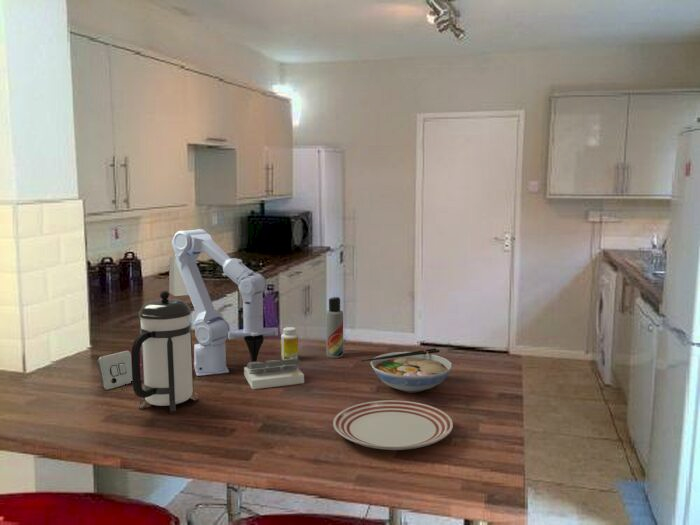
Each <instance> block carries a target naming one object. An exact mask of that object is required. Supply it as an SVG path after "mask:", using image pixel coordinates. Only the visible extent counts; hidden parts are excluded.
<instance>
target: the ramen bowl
mask: <svg viewBox="0 0 700 525" xmlns="http://www.w3.org/2000/svg"><path fill="white" fill-rule="evenodd" d="M437 353H440V349H437V348H435V347H434V348H429V349H423V350H418V351H417V350H415V351H397V352H389V353H384V354H380V355H377V356H375V357H373V358H368V359H361V360H360V362H369V361H370V366H371V367H372V369H373V371H374V373H375V374H376V376H377V377H378V379H379V380H380V381H381V382H382V383H384V384H385V385H387V386H389V387H391V388H393V389H396V390H399V391H400V392H403V393H404V392H405V393H410V394H413V393H420V392H423V391H425V390H426V391H427V390H430V389H432V388H434V387H436V386H438V385H439V384H441V383H442V382H443V381H444V380H445V379H446V378H447V377H448V375H449V374H450V372H451V370H452V367H453V366H452V365H453V364H452V362H451V361H450V360H449V359H448V358H446V357H442V356H440V355H437Z"/></svg>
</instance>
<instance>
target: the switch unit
mask: <svg viewBox="0 0 700 525" xmlns="http://www.w3.org/2000/svg"><path fill="white" fill-rule="evenodd" d="M297 365H298V364H295V365H283V366H277V367H266V368H259V369H248V367H247V366H244V367H243V371H244V372H243V375H244V377H245V379H246V380H247V382H248V385H249V386H250V388H251V389H252V390H258V389H265V388H267V389H268V388H275V387H284V386H291V385H292V386H293V385H299V384H305V373H303V372H302V371H301V370H300V368H299V367H298V366H297Z"/></svg>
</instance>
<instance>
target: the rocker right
mask: <svg viewBox="0 0 700 525" xmlns="http://www.w3.org/2000/svg"><path fill="white" fill-rule="evenodd" d="M279 361H282V363H283V365H300V358H297V359H293V358H290V359H282V358H281V360H279Z"/></svg>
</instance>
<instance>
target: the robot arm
mask: <svg viewBox="0 0 700 525" xmlns="http://www.w3.org/2000/svg"><path fill="white" fill-rule="evenodd" d="M171 246H172V248H173V252H175V256H176V264H177V266H178V269H179V271H180V274H181V276H182V279H183V281H184V284H185V286H186V289H187V291H188V294H189V295H188V296H189V299H190V301H191V303H192V305H193V309H194V312H195V314H196V318H195V319H194V322H193V328H194V330H195V331H194V332H195V338H196V340H197V341H198V343H195V344H194V345H193V346H194V347H193V352H194V353H193V357H194V359H193V360H194V361H193V368H194V370H195V371H194V372H195V374H196V376H197V377H199V376H211V375H219V374H228V373H230V371H229V368H228V367H227V360H226V359H227V358H226V341H227V338H228V340H234V339H243V340H244V342H245V344H246V347H247V349H248V352H249V356H250V361H251V363H252V362H258V355H259V353H260V352H259V351H260V350H261V347H262V345H263V343H264V341H265V338H264V337H267V336H279V328H278V327H264V297H263V296H264V291H265V290H266V289H267V281H266V278H265V277H264V276H263V274H261V273H257V272H256V273H255V271H253V270H252V269H250V268H249V267H247V266H246V265H245V264H244V263H243V260H242V259H241V258H236V257H234V258H231V257H230V256H229V255H228V254H227V253H226V252H225V251H224V250H223V249H222V248H221V247H220V246H219V245H218V244H217V243H216V242H215V241H214V240H213V239H212V235H211V234H209V233H207V231H206V230H205V229H202V228H197V229H191V230H179V231H176V232H175V234H174V236H173V238H172V240H171ZM202 253H204V254H205V255H207V256H208V257H209V258H211V259H212V260H213V261H214V262H216V263H217V264H218V265H219V266H221V267H222V270H223V271H222V272H223V274H225V276H227V278H229V279H231V281H232V282H234V283H235V284H236V285H237V287H238V291H239V293H240V294H241V300H242V311H243V312H242V315H243V316H242V318H243V320H242V321H243V322H242V323H243V329H238V330H231V328H230V324H229V322H228V321H227V320H226V319H225V318H224V317H225V316H223V313H222V312H220V311H218V310H217V309H215V307H214V304H213V302H212V298H211V297H210V294H209V291H208V289H207V287H206V285H205V282H204V279H203V278H202V275H201V272H200V270H199V269H200V268H199V267H198V264H197V261H198V258H199V257H200V256H201V254H202Z"/></svg>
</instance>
